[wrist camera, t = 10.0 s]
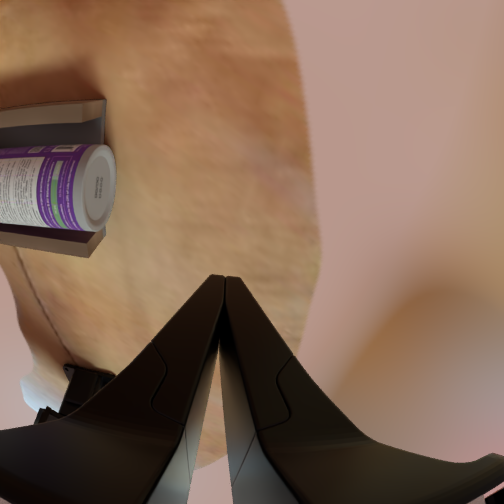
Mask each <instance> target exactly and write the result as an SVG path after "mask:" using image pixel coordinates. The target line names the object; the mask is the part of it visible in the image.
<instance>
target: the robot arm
mask: <svg viewBox="0 0 504 504" xmlns="http://www.w3.org/2000/svg"><path fill="white" fill-rule="evenodd" d="M218 348H219V361H220V375H221V388H222V400H223V411H224V422H225V433H226V443H227V453H228V462H229V471H230V480H231V487H232V496H233V504H504V487H503V488H501V489H499V490H497V491H496V492H494V493H493V494H491V495H489V496H487V497H486V498H484V495H483V494H485V493H487V492H488V491H490V490H491V489H493V488H495V487H496V486H498V485H499V484H501V483H502V482H504V456H502V455H498V454H495V453H491V454H488V455H486V456H484V457H482V458H480V459H478V460H476V461H472V462H466V463H454V462H448V461H443V460H438V459H434V458H430V457H426V456H423V455H419V454H415V453H411V452H408V451H405V450H401V449H398V448H394V447H391V446H388V445H385V444H382V443H379V442H377V441H375V440H373V439H371V438H370V437H368V436H367V435H365V434H364V433H363V432H362V431H360V430H359V429H358V428H357V427H356V426H355V425H354V424H353V423H352V422H351V421H350V420H349V419H348V418H347V416H346V415H345V414H343V412H342V411H340V409H339V408H338V407H337V406H336V405H335V404H334V403H333V402H332V401H331V400H330V399H329V398H328V396H326V394H325V393H324V392H323V391H322V390H321V389H320V388H319V386H318V385H317V384H316V383H315V382H314V381H313V380H312V378H311V377H310V376H309V374H308V373H307V372H306V370H305V369H304V368H303V367H302V365H301V364H300V362H299V361H298V360H297V358H296V357H295V356H293V353H292V351H291V350H290V348H289V347H288V346H287V344H286V343H285V341H284V340H283V339H282V337H281V336H280V334H279V333H278V331H277V330H276V329H275V327H274V326H273V324H272V323H271V321H270V320H269V318H268V317H267V316H266V314H265V313H264V311H263V310H262V308H261V307H260V305H259V304H258V303H257V301H256V300H255V298H254V297H253V295H252V294H251V292H250V291H249V289H248V288H247V287H246V285H245V284H244V282H243V281H242V279H241V278H240V277H233V276H227V277H226V278H225V276H223V275H214V274H211V275H210V276H209V277H208V278H207V279H206V280H205V281H204V282H203V283H202V285H201V286H200V287H199V288H198V289H197V290H196V291H195V292H194V293H193V295H192V296H191V297H190V298H189V299H188V300H187V301H186V302H185V303H184V305H183V306H182V307H181V308H180V309H179V310H178V311H177V312H176V313H175V315H174V316H173V317H172V318H171V319H170V320H169V321H168V322H167V324H166V325H165V326H164V327H163V328H162V329H161V330H160V331H159V333H158V334H157V335H156V336H155V337H154V338H153V339H152V340H151V342H150V343H149V344H148V345H147V346H146V347H145V348H144V349H143V350H142V352H141V353H140V354H139V355H138V356H137V357H136V358H135V359H134V360H133V361H132V362H131V363H130V364H129V365H128V366H127V367H126V368H125V369H124V370H123V371H121V372H120V373H119V374H118V375H117V376H116V377H115V376H113V375H110V374H105V373H101V372H96V371H92V370H88V369H84V368H80V367H77V366H73V365H69V364H64V365H63V370H64V372H65V374H66V376H67V378H68V380H69V385H68V387H67V390H66V393H65V395H64V399H63V401H62V404H61V407H60V410H59V412H58V413H57V412H56V411H54V410H52V409H51V408H50V407H48V406H47V407H46V409H42V408H40V409H39V412H38V414H37V417H36V419H35V422H34V424H33V425H29V426H23V427H18V428H12V429H6V430H0V504H187V500H188V495H189V490H190V484H191V479H192V474H193V470H194V465H195V460H196V455H197V450H198V445H199V440H200V435H201V431H202V426H203V421H204V416H205V411H206V407H207V402H208V397H209V392H210V388H211V383H212V378H213V373H214V369H215V364H216V359H217V354H218Z"/></svg>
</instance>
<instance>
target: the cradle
mask: <svg viewBox="0 0 504 504" xmlns="http://www.w3.org/2000/svg"><path fill="white" fill-rule="evenodd" d="M105 112H106V99H97V100H74V101H60V102H48V103H38V104H30V105H22V106H15V107H8V108H2V109H0V149H4V148H15V147H29V146H46V145H77V144H99V145H104V128H105ZM105 235H106V229H105V226H104V227H103V228H102V229H101V230H99V231H97V232H93V231H81V230H71V229H60V228H50V227H39V226H29V225H18V224H8V223H0V244H6V245H11V246H17V247H23V248H29V249H35V250H41V251H47V252H53V253H59V254H65V255H72V256H78V257H84V258H89V257H90V256H91V254H92V253H93V251H94V250H95V249H96V247H97V246H98V245H99V243H100V242H101V241H102V239H103V238H104V237H105Z"/></svg>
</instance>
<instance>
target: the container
mask: <svg viewBox="0 0 504 504" xmlns="http://www.w3.org/2000/svg"><path fill="white" fill-rule="evenodd" d="M115 191H116V164H115V159H114V155H113V153H112V151H111V149H110V148H109V147H108V146H107V145H99V144H77V145H46V146H29V147H15V148H4V149H0V223H8V224H18V225H29V226H39V227H50V228H60V229H71V230H81V231H93V232H97V231H99V230H101V229H102V228H103V227H104V226H105V224H106V223H107V221H108V219H109V216H110V214H111V211H112V207H113V203H114V198H115Z"/></svg>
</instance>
